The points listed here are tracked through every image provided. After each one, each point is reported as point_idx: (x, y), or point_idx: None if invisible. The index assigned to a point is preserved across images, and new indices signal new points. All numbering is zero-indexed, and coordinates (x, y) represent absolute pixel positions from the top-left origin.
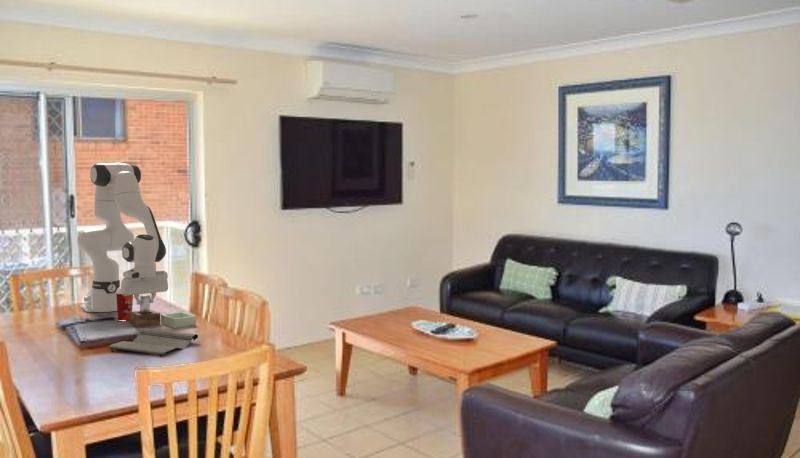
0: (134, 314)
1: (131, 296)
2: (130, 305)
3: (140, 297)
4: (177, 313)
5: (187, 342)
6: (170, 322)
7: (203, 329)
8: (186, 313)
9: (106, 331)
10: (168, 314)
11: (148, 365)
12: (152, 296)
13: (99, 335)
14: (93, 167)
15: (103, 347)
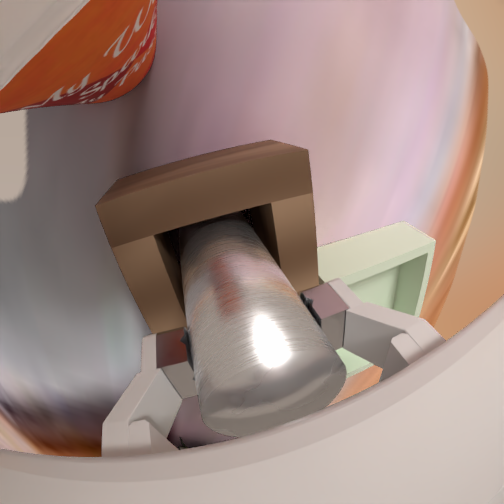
0: (129, 284)
1: (78, 43)
2: (105, 78)
3: (200, 407)
4: (409, 257)
5: None
6: None
7: (365, 376)
8: (423, 290)
9: (18, 328)
10: (365, 275)
11: None
12: (374, 347)
13: (17, 372)
14: None
15: (76, 453)
